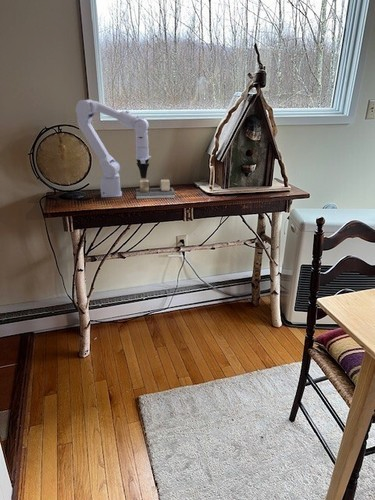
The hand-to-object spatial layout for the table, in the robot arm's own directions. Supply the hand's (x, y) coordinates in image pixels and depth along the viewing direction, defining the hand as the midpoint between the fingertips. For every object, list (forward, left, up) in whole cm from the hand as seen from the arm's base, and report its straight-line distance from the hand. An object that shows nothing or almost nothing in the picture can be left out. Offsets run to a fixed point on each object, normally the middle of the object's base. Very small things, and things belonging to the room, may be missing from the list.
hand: (143, 176), depth 170 cm
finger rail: (+5, -1, -9) cm, 11 cm away
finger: (0, -1, -8) cm, 8 cm away
